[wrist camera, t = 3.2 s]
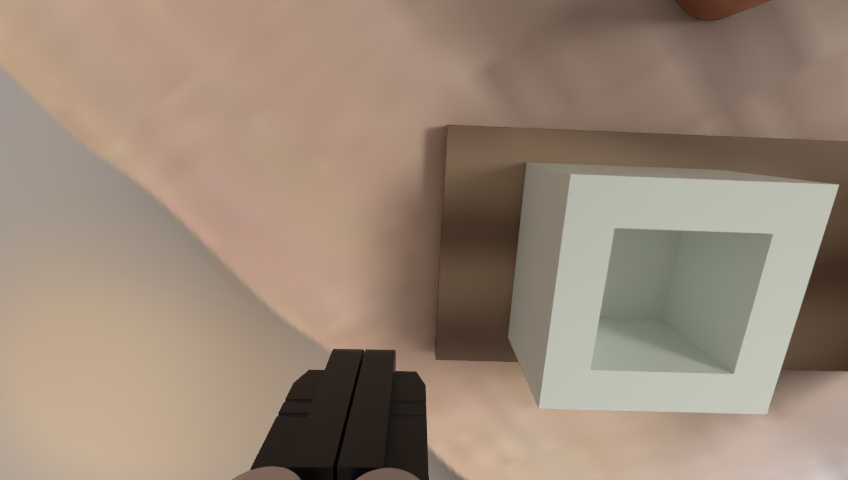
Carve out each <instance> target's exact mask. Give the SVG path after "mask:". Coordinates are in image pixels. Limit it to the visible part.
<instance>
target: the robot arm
mask: <svg viewBox="0 0 848 480" xmlns="http://www.w3.org/2000/svg"><path fill="white" fill-rule="evenodd" d="M395 367H396V351H395V350H365V352H364V350H360V349H333V351H332V353H331V355H330V358H329V361H328V363H327V366H326V368H325V370H308V371H307V372H306V373H305V374H304V375H302V376H301V377H300V378H299V379H298V380H297V381H296V382H294V383H293V386H292V387H291V389H290V391H289V393H288V395H287V397H286V400H285V402H284V403H283V405H282V407H281V409H280V411H279V415H278V417H276V419H275V421H274V423H273V425H272V427H271V429H270V431H269V433H268V435H267V437H266V439H265V441H264V443H263V445H262V447H261V449H260V451H259V453H258V455H257V457H256V459H255V461H254V463H253V465H252V467H251V469H250V471H248V472H245V473H243V474H241V475H239V476H237V477H236V478H234V479H233V480H429V476H428V449H427V419H426V388H425V384H424V382H423V381H422V380H421V378H420V377H419V375H418V374H417V372H405V371H395Z"/></svg>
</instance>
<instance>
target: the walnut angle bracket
mask: <svg viewBox="0 0 848 480" xmlns="http://www.w3.org/2000/svg"><path fill="white" fill-rule="evenodd" d="M526 162H538V163H563V164H588V165H614V166H639V167H664V168H689V169H715V170H725V171H733V172H741V173H749V174H757V175H765V176H774V177H782V178H790V179H798V180H806V181H814V182H822V183H830V184H838V185H839V187H838V190H837V194H836V197H835V200H834V203H833V206H832V209H831V213H830V216H829V219H828V222H827V225H826V228H825V232H824V235H823V238H822V241H821V244H820V247H819V251H818V254H817V257H816V260H815V263H814V266H813V269H812V273H811V276H810V279H809V282H808V285H807V288H806V292H805V295H804V298H803V301H802V304H801V307H800V311H799V314H798V317H797V320H796V323H795V326H794V330H793V333H792V336H791V339H790V342H789V345H788V349H787V352H786V355H785V358H784V361H783V364H782V367H781V369H785V370H821V371H848V142H847V141H823V140H799V139H774V138H750V137H726V136H702V135H678V134H654V133H630V132H605V131H581V130H557V129H533V128H509V127H485V126H461V125H447V130H446V149H445V168H444V187H443V206H442V225H441V244H440V263H439V282H438V301H437V320H436V339H435V357H436V360H468V361H503V362H518V359H517V357H516V355H515V352H514V350H513V348H512V346H511V343H510V341H509V339H508V331H509V322H510V313H511V303H512V294H513V284H514V275H515V266H516V256H517V247H518V237H519V228H520V218H521V209H522V200H523V190H524V181H525V171H526Z"/></svg>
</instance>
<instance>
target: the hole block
mask: <svg viewBox="0 0 848 480" xmlns="http://www.w3.org/2000/svg"><path fill="white" fill-rule="evenodd" d="M838 187H839V185H838V184H830V183H822V182H814V181H806V180H798V179H790V178H782V177H774V176H765V175H757V174H749V173H741V172H733V171H725V170H715V169H689V168H664V167H639V166H614V165H588V164H563V163H538V162H526V171H525V181H524V190H523V200H522V209H521V218H520V228H519V237H518V247H517V256H516V266H515V275H514V284H513V294H512V303H511V313H510V322H509V331H508V339H509V341H510V343H511V346H512V348H513V350H514V352H515V355H516V357H517V359H518V362H519V364H520V366H521V369H522V371H523V373H524V376H525V378H526V380H527V382H528V385H529V387H530V389H531V392H532V394H533V396H534V399H535V401H536V403H537V406H538V408H539V409H577V410H616V411H654V412H693V413H732V414H767V412H768V409H769V405H770V402H771V399H772V396H773V393H774V390H775V386H776V383H777V380H778V377H779V374H780V371H781V367H782V364H783V361H784V358H785V355H786V352H787V349H788V345H789V342H790V339H791V336H792V333H793V330H794V326H795V323H796V320H797V317H798V314H799V311H800V307H801V304H802V301H803V298H804V295H805V292H806V288H807V285H808V282H809V279H810V276H811V273H812V269H813V266H814V263H815V260H816V257H817V254H818V251H819V247H820V244H821V241H822V238H823V235H824V232H825V228H826V225H827V222H828V219H829V216H830V213H831V209H832V206H833V203H834V200H835V197H836V194H837V190H838Z"/></svg>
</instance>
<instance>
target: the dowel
mask: <svg viewBox="0 0 848 480" xmlns="http://www.w3.org/2000/svg"><path fill="white" fill-rule="evenodd" d="M677 1H678V3H679V5H680V6H681V7H682V8H683V9H684V10H685V11H686V12H687V13H688V14H690V15H691V16H693V17H695V18H698V19H701V20H718V19H722V18H725V17H728V16H730V15H733V14H736V13H738V12H741V11H744V10H746V9H749V8H752V7H754V6H757V5H760V4H762V3H765V2H767V1H770V0H677Z"/></svg>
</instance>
